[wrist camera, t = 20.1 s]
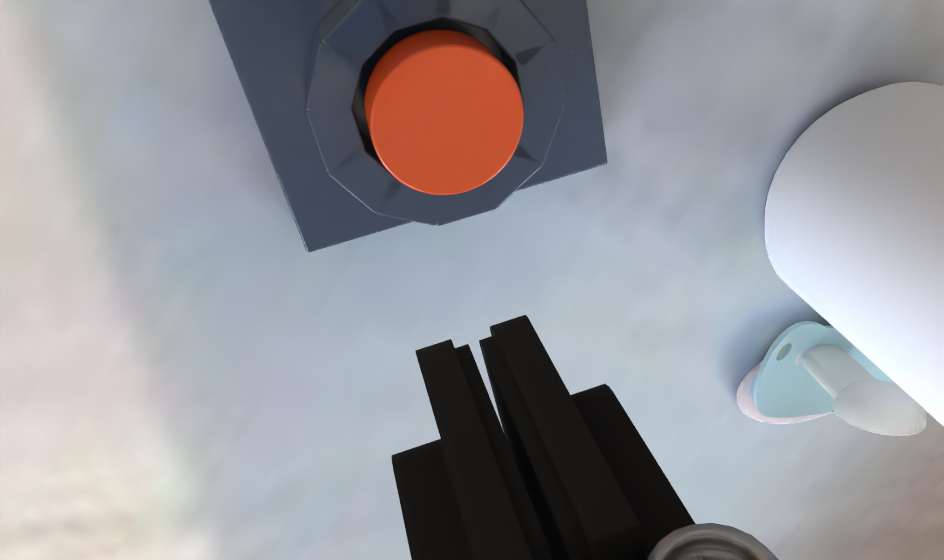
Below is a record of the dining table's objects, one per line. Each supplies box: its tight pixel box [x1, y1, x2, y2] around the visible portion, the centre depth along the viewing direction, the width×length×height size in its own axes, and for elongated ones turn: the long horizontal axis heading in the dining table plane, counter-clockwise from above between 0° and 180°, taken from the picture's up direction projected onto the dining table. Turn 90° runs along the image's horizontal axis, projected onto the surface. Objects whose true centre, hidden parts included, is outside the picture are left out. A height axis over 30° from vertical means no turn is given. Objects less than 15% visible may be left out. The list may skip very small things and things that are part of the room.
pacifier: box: [737, 321, 927, 436], centre depth 31 cm, size 7×6×6 cm
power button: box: [365, 29, 524, 195], centre depth 20 cm, size 4×4×2 cm
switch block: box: [209, 0, 607, 252], centre depth 22 cm, size 10×8×4 cm
